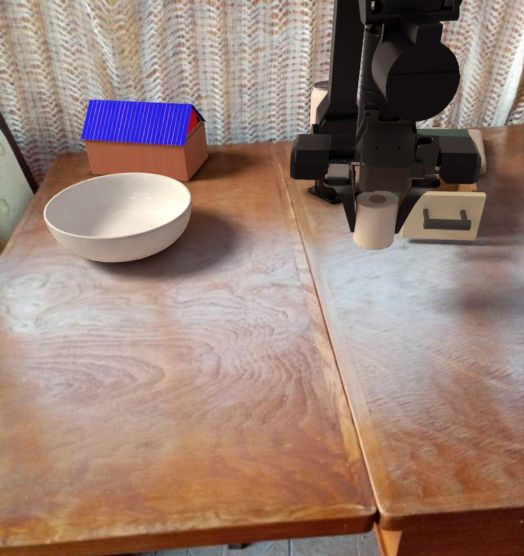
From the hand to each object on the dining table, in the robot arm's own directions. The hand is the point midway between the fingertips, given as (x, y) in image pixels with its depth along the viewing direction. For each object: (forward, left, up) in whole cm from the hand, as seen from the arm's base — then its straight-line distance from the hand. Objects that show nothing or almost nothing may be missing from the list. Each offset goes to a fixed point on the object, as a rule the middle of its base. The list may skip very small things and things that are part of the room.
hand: (373, 231), depth 61 cm
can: (-41, +31, -11) cm, 52 cm away
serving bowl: (-34, -16, -11) cm, 39 cm away
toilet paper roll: (0, 0, -1) cm, 1 cm away
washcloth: (-23, +46, -11) cm, 52 cm away
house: (-58, +1, -11) cm, 59 cm away
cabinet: (-15, +30, -10) cm, 35 cm away
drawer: (-6, +21, -10) cm, 24 cm away
